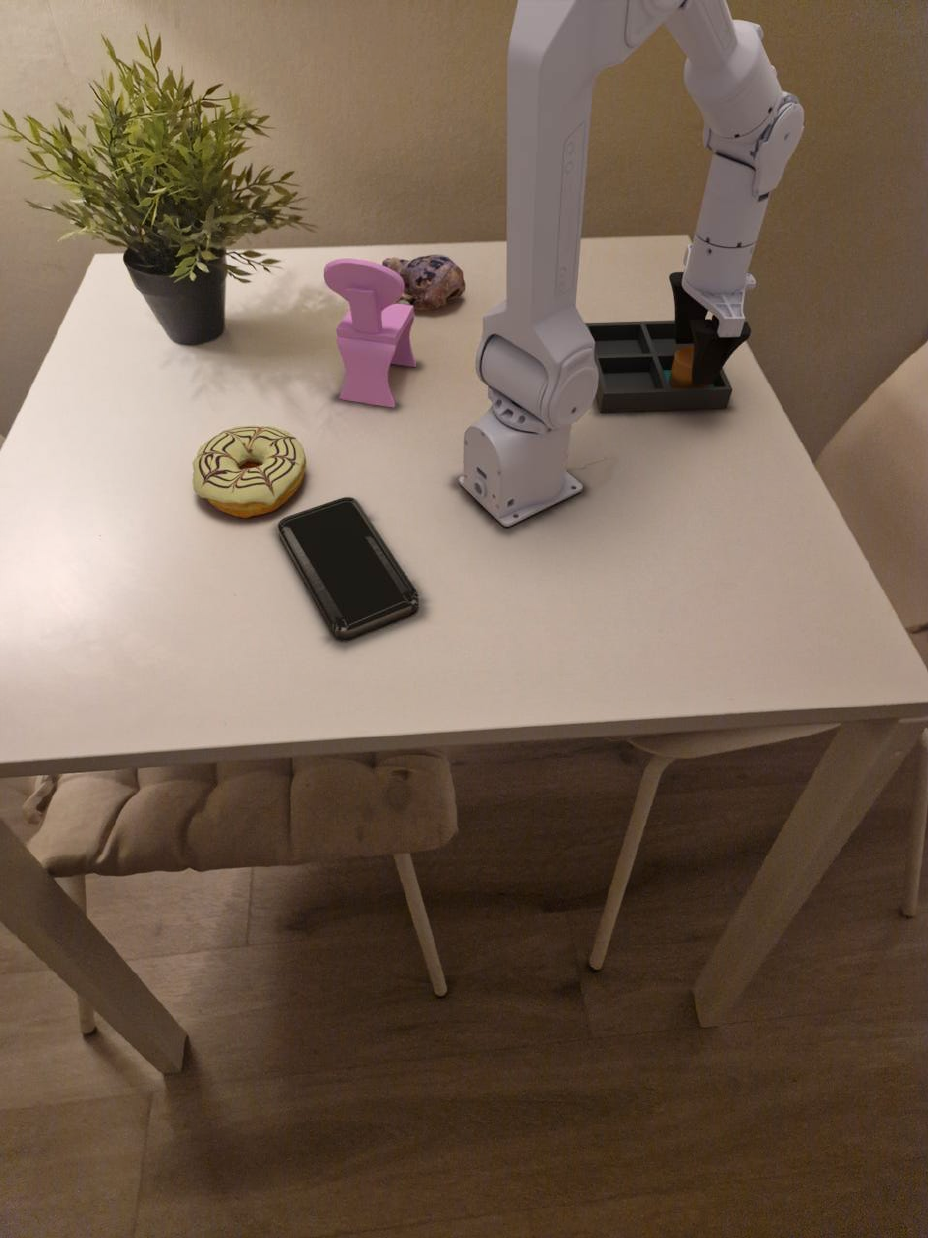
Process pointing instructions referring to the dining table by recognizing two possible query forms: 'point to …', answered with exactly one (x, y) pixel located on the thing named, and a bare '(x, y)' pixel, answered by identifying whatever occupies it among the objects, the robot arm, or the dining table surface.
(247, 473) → the decorated donut
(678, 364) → the orange cylinder
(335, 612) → the phone
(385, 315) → the toy chair
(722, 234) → the robot arm
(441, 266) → the toy tortoise
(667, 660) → the dining table surface
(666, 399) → the grid
